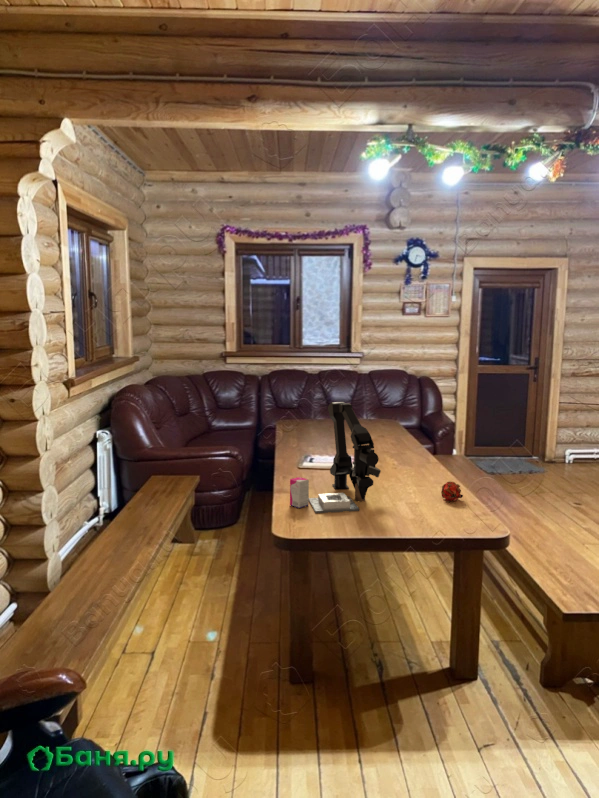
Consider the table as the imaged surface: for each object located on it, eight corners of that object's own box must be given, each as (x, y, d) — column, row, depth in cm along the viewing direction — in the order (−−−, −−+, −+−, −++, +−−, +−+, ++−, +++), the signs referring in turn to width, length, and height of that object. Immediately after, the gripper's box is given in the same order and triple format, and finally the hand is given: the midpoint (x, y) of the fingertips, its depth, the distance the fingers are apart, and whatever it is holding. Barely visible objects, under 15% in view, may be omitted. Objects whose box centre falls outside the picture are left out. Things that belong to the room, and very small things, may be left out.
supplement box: (309, 505, 232) (309, 479, 231) (298, 509, 228) (299, 482, 227) (299, 502, 237) (299, 476, 235) (289, 505, 232) (289, 479, 231)
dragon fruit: (449, 498, 247) (454, 511, 235) (434, 487, 246) (438, 500, 235) (462, 484, 244) (467, 497, 233) (447, 473, 244) (452, 485, 232)
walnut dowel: (353, 498, 242) (353, 483, 241) (363, 498, 242) (363, 482, 241) (356, 502, 237) (356, 486, 236) (366, 501, 238) (366, 485, 237)
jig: (308, 500, 239) (308, 491, 238) (349, 498, 242) (349, 489, 241) (315, 513, 223) (315, 503, 223) (359, 510, 226) (359, 501, 226)
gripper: (385, 465, 229) (384, 501, 232) (372, 454, 248) (371, 488, 250) (359, 466, 228) (358, 503, 230) (348, 455, 246) (347, 489, 248)
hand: (360, 495), depth 240 cm, fingers open, 9 cm apart
